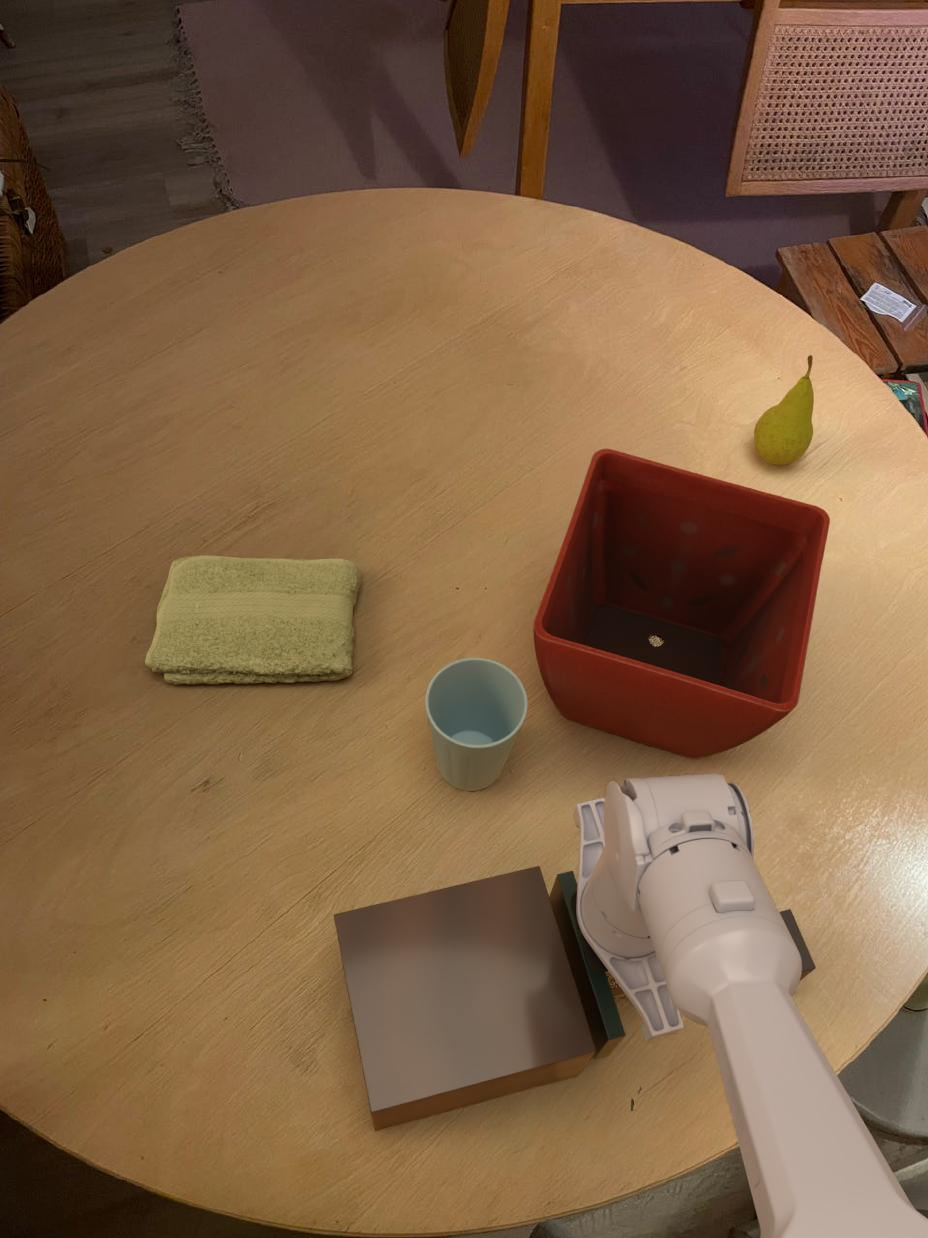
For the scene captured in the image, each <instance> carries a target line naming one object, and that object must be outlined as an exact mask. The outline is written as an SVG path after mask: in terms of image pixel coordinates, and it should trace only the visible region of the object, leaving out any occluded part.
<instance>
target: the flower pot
mask: <svg viewBox="0 0 928 1238" xmlns="http://www.w3.org/2000/svg"><path fill="white" fill-rule="evenodd" d="M830 524H831V518H830V515H829V514H828V513H827V511H826V510H825V509H823V508H821V507H819V506H818V505H814V504H810V503H806V502H803V501H800V500H796V499H792V498H788V497H784V496H782V495H777V494H773V493H770V492H766V491H762V490H759V489H755V488H751V487H748V486H744V485H740V484H737V483H734V482H729V481H726V480H722V479H718V478H715V477H712V476H707V475H704V474H700V473H697V472H693V471H690V470H686V469H684V468H680V467H676V466H672V465H668V464H665V463H662V462H658V461H654V460H651V459H647V458H644V457H640V456H637V455H633V454H630V453H627V452H624V451H619V450H616V449H611V448H602V449H599V450H597V451H595V452H594V453H593V455H592V456H591V459H590V462H589V465H588V468H587V471H586V474H585V477H584V481H583V482H582V486H581V490H580V492H579V495H578V497H577V502H576V504H575V506H574V510H573V512H572V515H571V518H570V520H569V523H568V527H567V530H566V532H565V535H564V537H563V541H562V544H561V546H560V549H559V552H558V555H557V557H556V560H555V563H554V565H553V568H552V571H551V574H550V577H549V579H548V582H547V585H546V587H545V590H544V592H543V596H542V598H541V600H540V604H539V606H538V609H537V612H536V614H535V617H534V619H533V624H532V625H533V627H532V628H533V629H532V633H533V644H534V651H535V657H536V662H537V666H538V669H539V673H540V677H541V679H542V683H543V684H544V687H545V690H546V691H547V694H548V695H549V697H550V700H551V701H552V703H553V705H554V707H555V708H556V709H557V710H558V711H559V713H560V715H562V716H563V717H564V718H565V719H567V720H569V721H572V722H575V723H578V724H582V725H584V726H588V727H592V728H594V729H597V730H600V731H603V732H607V733H610V734H613V735H616V736H620V737H623V738H626V739H629V740H632V741H636V742H639V743H641V744H645V745H647V746H651V747H654V748H657V749H661V750H664V751H667V752H670V753H674V754H677V755H680V756H683V757H686V758H689V759H702V758H706V757H710V756H713V755H716V754H720V753H724V752H726V751H728V750H731V749H734V748H736V747H738V746H741V745H744V744H745V743H748V742H750V741H751V740H753V739H755V738H756V737H758V736H759V735H761V734H763V733H765V732H766V731H768V730H769V729H770V728H772V727H773V726H775V725H776V724H778V723H779V722H781V721H782V720H783V719H784V718H786V717H787V716H788V715H789V714H790V713H791V712H792V711H793V710H794V709H795V708H796V707H797V706H798V703H799V701H800V697H801V696H800V695H801V690H802V684H803V683H802V682H803V676H804V670H805V665H806V660H807V653H808V647H809V641H810V634H811V629H812V624H813V618H814V612H815V606H816V599H817V593H818V588H819V582H820V576H821V571H822V566H823V561H824V557H825V556H824V555H825V551H826V546H827V545H826V544H827V539H828V534H829V528H830ZM652 635H658V636H660V637H661V638H662V641H663V642H662V644H661V645H658V646H656V645H654V644H652V643H651V641H650V637H651V636H652Z"/></svg>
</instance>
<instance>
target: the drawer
mask: <svg viewBox="0 0 928 1238" xmlns="http://www.w3.org/2000/svg"><path fill="white" fill-rule="evenodd" d="M575 875H576V874H575V872H574V870H569V871H564V872H561V873H557V874H556V876H555V879H554V881H553V882H554V883H553V885H552V888H551V891H550V894H549V898H550V901H551V905H552V908H553V911H554V914H555V918H556V921H557V924H558V928H559V931H560V934H561V937H562V941H563V944H564V947H565V951H566V954H567V957H568V960H569V964H570V967H571V970H572V973H573V977H574V980H575V983H576V987H577V990H578V993H579V996H580V1000H581V1003H582V1006H583V1010H584V1013H585V1016H586V1019H587V1023H588V1026H589V1029H590V1032H591V1036H592V1039H593V1042H594V1046H595V1049H596V1052H595V1054H594V1055H593V1056H592V1057H591V1058H592V1060H593V1061H595V1060H599V1059H603V1058H607V1057H609V1056H611V1054H612V1053H613V1052H614V1050H615V1049H616V1048H617V1047H618V1046H619V1044H620V1043H621V1042H622V1040H623V1039H624V1038H625V1037H626V1036H627V1034H626V1031H625V1027H624V1025H623V1021H622V1018H621V1015H620V1012H619V1009H618V1006H617V1003H616V1000H615V999H617V998H621V997H624V996H627V995H626V994H625V993H624V991H623V990H622V989H621V987H620V986H619V985H618V986H615V987H611V985H610V980H609V979H608V974H607V972H604V973H598V972H593V970H592V969H591V967H590V965H589V963H588V961H587V958H586V954H585V951H584V948H583V945H582V941H581V938H580V936H581V935H583V934H582V932H581V931H579V930H578V928H577V925H576V922H575V919H574V915H573V912H572V909H571V905H570V900H571V897H572V895H573V894H574V893H575V892H576V891H577V878H576V876H575Z"/></svg>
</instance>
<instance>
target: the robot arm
mask: <svg viewBox="0 0 928 1238" xmlns="http://www.w3.org/2000/svg"><path fill="white" fill-rule="evenodd" d="M572 816H573V821H574V824H575V826H576V827H577V828H578V831H579V833H578V835H579V837H578V839H579V840H578V858H577V859H578V861H577V880H576V882H577V891H576V892H575V893H574V894H573V895H572V897H571V900H570V905H571V909H572V912H573V915H574V919H575V922H576V925H577V928H578V930H579V931H581V932H582V934H583V935H581V936H580V938H581V941H582V945H583V948H584V951H585V954H586V958H587V961H588V963H589V965H590V967H591V969H592V970H593V972H598V973H604V972H606V973H610V975H611V976H612V978H613V979H614V981H615V982H616V983H617V985H618V986H620V987H621V989H622V990H623V991H624V993H625V994H626V995H625V996H626V997H627V998H628V1000H629V1001H630V1002H631V1003H632V1005H633V1006H634V1008H635V1010H636V1011H637V1013H638V1014H639V1016H640V1018H641V1020H642V1024H641V1032H642V1034H643V1037H644V1041H645V1042H653V1041H656V1040H660V1039H664V1038H667V1037H670V1036H674V1035H677V1034H679V1033H680V1032H681V1031H682V1030H683V1029H684V1028H685V1025H684V1021H683V1018H682V1015H683V1016H684V1017H685V1018H687V1019H688V1020H690V1021H691V1022H694V1024H695V1023H696V1024H698V1025H701V1026H703V1027H706V1028H708V1029H709V1030H708V1031H709V1033H710V1037H711V1041H712V1046H713V1049H714V1054H715V1058H716V1061H717V1065H718V1068H719V1073H720V1077H721V1081H722V1085H723V1088H724V1092H725V1096H726V1101H727V1104H728V1108H729V1112H730V1115H731V1119H732V1124H733V1127H734V1132H735V1135H736V1139H737V1142H738V1146H739V1150H740V1155H741V1158H742V1162H743V1166H744V1170H745V1173H746V1177H747V1183H748V1185H749V1190H750V1193H751V1197H752V1201H753V1205H754V1209H755V1212H756V1216H757V1220H758V1221H757V1222H758V1225H759V1228H760V1235H759V1238H928V1218H927V1217H926V1216H925V1215H923V1214H922V1213H921V1212H920V1211H918V1210H916V1208H915V1206H914V1205H913V1204H912V1203H911V1201H910V1199H909V1198H908V1196H907V1194H906V1193H905V1191H904V1189H903V1187H902V1186H901V1184H900V1182H899V1180H898V1178H897V1177H896V1175H895V1174H894V1172H893V1170H892V1168H891V1166H890V1165H889V1163H888V1161H887V1160H886V1158H885V1156H884V1154H883V1153H882V1151H881V1148H879V1146H878V1143H876V1141H875V1139H874V1137H873V1136H872V1133H871V1132H870V1130H869V1129H868V1127H867V1125H866V1124H865V1122H864V1120H863V1118H862V1117H861V1115H860V1113H859V1112H858V1110H857V1108H856V1106H855V1105H854V1102H853V1101H852V1099H851V1097H850V1096H849V1094H848V1092H847V1091H846V1089H845V1087H844V1085H843V1084H842V1082H841V1080H840V1078H839V1077H838V1075H837V1073H836V1072H835V1070H834V1068H833V1066H832V1065H831V1063H830V1061H829V1059H828V1058H827V1056H826V1054H825V1053H824V1051H823V1049H822V1048H821V1046H820V1044H819V1042H818V1041H817V1038H816V1037H815V1035H814V1034H813V1032H812V1030H811V1029H810V1026H809V1025H808V1023H807V1021H806V1020H805V1018H804V1016H803V1015H802V1013H801V1011H800V1009H799V1008H798V1006H797V1004H796V1002H795V1001H794V999H793V996H794V995H795V992H796V990H797V989H798V987H799V984H800V978H801V973H802V961H801V956H800V953H799V951H798V949H797V947H796V945H795V943H794V941H793V939H792V937H791V935H790V933H789V931H788V929H787V927H786V925H785V923H784V921H783V919H782V917H781V914H780V912H781V911H780V910H779V908H778V906H777V904H776V902H775V901H774V898H773V897H772V894H771V891H770V890H769V888H768V886H767V884H766V882H765V879H764V877H763V876H762V874H761V872H760V870H759V868H758V865H757V864H756V862H755V860H754V856H755V835H754V827H753V820H752V814H751V809H750V807H749V804H748V800H747V798H746V796H745V793H744V792H743V790H742V788H741V787H740V786H739V785H738V784H737V783H735V782H733V781H731V782H730V781H729V782H728V783H727V780H726V778H725V777H724V775H723V774H719V773H717V772H715V773H714V772H713V773H697V774H696V773H695V774H680V775H662V776H647V777H628V778H627V777H626V778H624V779H623V781H622V782H621V785H619V783H617V782H616V781H615V780H611V781H610V782H609V783H608V784H607V786H606V791H605V795H604V797H601V798H595V799H591V800H588V801H583V802H579V803H576V804H575V807H574V811H573V812H572Z"/></svg>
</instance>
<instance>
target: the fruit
mask: <svg viewBox="0 0 928 1238" xmlns="http://www.w3.org/2000/svg"><path fill="white" fill-rule="evenodd" d="M806 361H807V366H808V367H807V370H806V371H807V372H806V374H805V375H803V376H801V377H800V378H799V379H798V380H797V382H796V384H794V386H793V387H792V388H791V389H790V390H789V391H787V393H786V394H785V396H783V398H782V399H781V401H780V402H779V403H777V404H776V405H773V406H771V407H770V408H768V409H767V410H766V411H764V412H763V413H762V414H761V416H760V417H759V418H758V420H757V422H756V423H755V426H754V429H753V441H754V447H755V449H756V453H757V454H758V456H759V457H760V458H761V459H762V460H764V461H765V462H767V463H768V464H772V465H778V466H779V465H780V466H782V465H788V464H791V463H794V462H796V461H797V460H799V459H800V458H802V457H803V456H804V454H806V453H807V450H808V449H809V447H810V445H811V443H812V440H813V436H814V425H813V412H814V404H815V403H814V402H815V398H814V396H815V394H814V388H813V384H812V380H811V378H810V375H811V371H812V368H813V355H811V354H810V355H808V356H807V359H806Z"/></svg>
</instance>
